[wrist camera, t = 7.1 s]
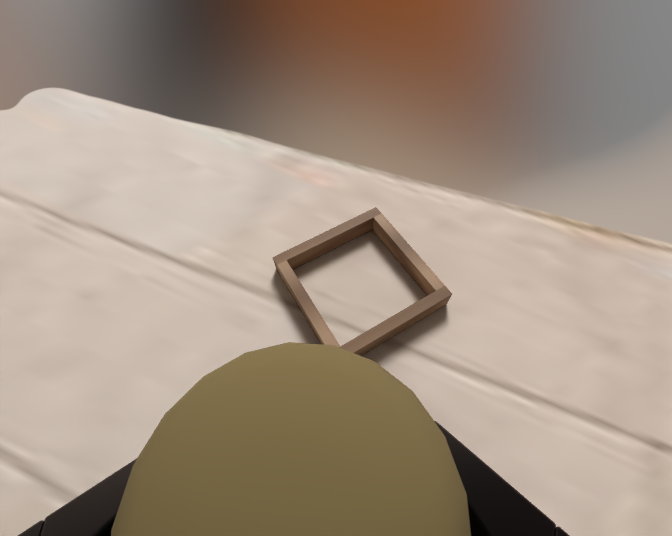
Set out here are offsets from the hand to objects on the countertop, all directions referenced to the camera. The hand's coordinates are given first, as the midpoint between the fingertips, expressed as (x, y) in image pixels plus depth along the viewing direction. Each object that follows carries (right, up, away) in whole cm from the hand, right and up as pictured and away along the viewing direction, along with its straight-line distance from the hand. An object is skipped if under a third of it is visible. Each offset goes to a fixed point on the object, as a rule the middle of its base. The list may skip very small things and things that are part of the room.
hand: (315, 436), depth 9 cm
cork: (0, -5, +5) cm, 7 cm away
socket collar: (+2, +3, +17) cm, 17 cm away
